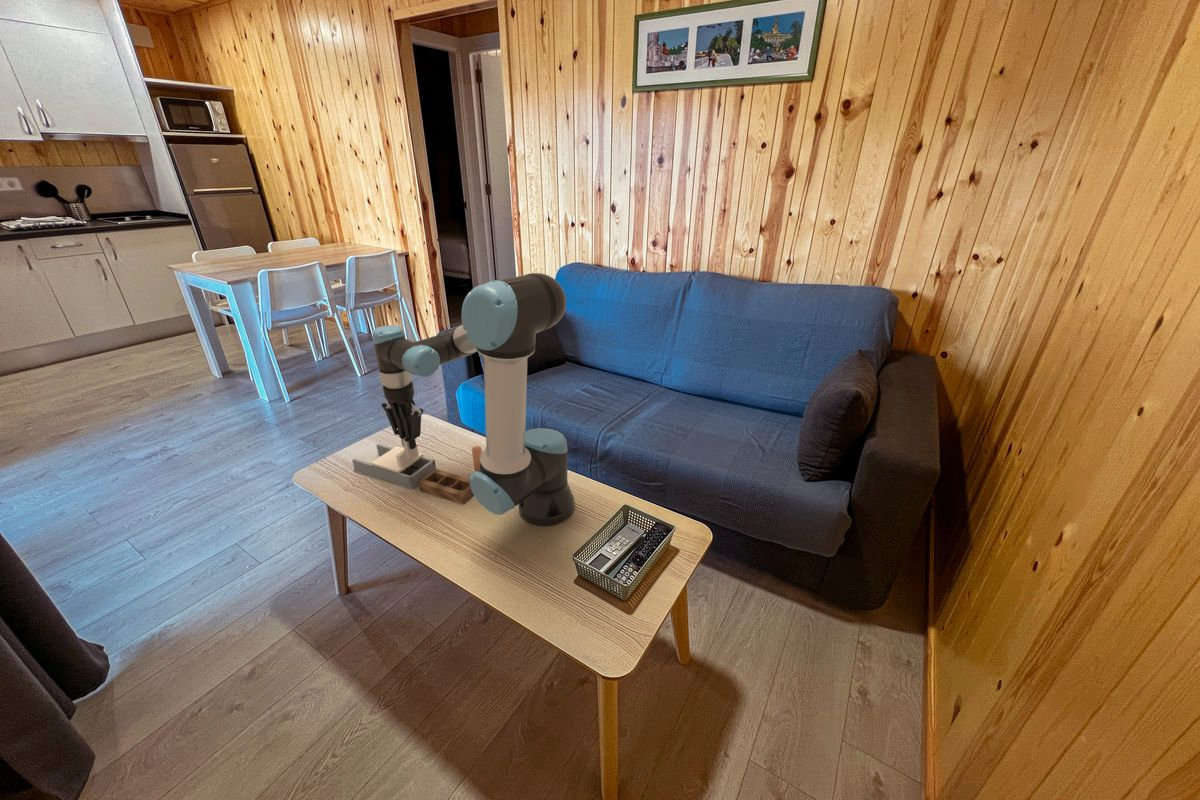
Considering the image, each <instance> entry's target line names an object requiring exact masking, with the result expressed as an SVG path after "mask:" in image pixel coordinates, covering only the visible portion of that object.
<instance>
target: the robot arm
mask: <svg viewBox="0 0 1200 800" xmlns="http://www.w3.org/2000/svg"><path fill="white" fill-rule="evenodd" d="M461 306H462V308H461V325H460V326H459V325H458V326H457V327H456V328H454V329H452V330H450V331H448V332H447V331H446V332H443V333H441V334H438V335H433V336H430V337H427V338H424V339H420V340H416V341H412V340H411V339H407V338H406V335H405V334H406V333H405V332H404V328H403V327H402V326H400V325H393V324H391V325H390V324H389V325H382V326H379V327H376V328H375V329H374V330H372V340H373V348H374V352H375V357H376V361H377V365H378V370H379V375H380V383H381V385H382V390H383V395H384V398H385V400H386V401H384V402H383V403H381V407H382V409H383V410H384V411H385V414H386V417H387V419H388V421H389V424H390V426H391V429H392V432H393V433H394V435H395V436H398V437H399V438H400V440H401V445H402V448H404V450H405V455H406V459H412V458H413V457H415V456H416V455H417V453H416V448H415V447H416V445H417V442H416V439H418V438H419V437H420V436H421V431H422V415H423V413H424V408H418V407H417V406H416V402H415V401H414V395H415V389H414V382H413V381H412V379H413V378H412V377H413V376H412V375H414V376H417V377H422V378H426V377H430V376H432V375H434V374H435V372H436V371H438V369H439V368H440V366H443V365H446V364H447V363H450V362H453V361H456V360H459V359H462V358H466V357H469V356H471V355H473V354H475V353H476V352H477V353H478V354H479V355H481V356H482V357H483V360H484V361H483V362H484V363H483V364H484V367H483V368H484V398H485V399H484V403H485V404H484V405H485V407H484V409H485V445H486V448H484V449H483V450H481V451H482V453H481V455H480V469H479V471H475V470H474V472H473V473H472V474H471V475H470V477H469V478H468V479H469V483H470V487H471V490H472V492H473V494H474V495H473V496H474V498H475V499H476V500H477V502H478V503H479V504H480V505H481V506H482V507H483V509H485V510H487V511H488V512H489V513H492V514H494V515H497V516H498V515H499V516H500V515H504V514H506V513H507V512H509V511H510V510H513V509H515V507H517V506H518V512H519V515H520V517H521V519H523V520H524V521H526V522H528V523H529V524H531V525H534V526H541V527H542V526H544V527H545V526H547V527H548V526H549V527H550V526H554V525H557V524H560V523H562V522H565V521H566V520H568V519H569V518H570V517H571V516H572V514H573V513H574V510H575V497H574V495H573V493H572V490H571V487H570V486H569V483H568V451H569V449H568V443H567V439H566V436H565V435H564V434H563V433H562V432H560V431H557V430H555V429H551V428H543V427H542V428H541V427H539V428H532V429H528V430H526V419H527V418H526V417H527V416H526V415H527V414H526V413H527V389H528V388H527V387H528V386H527V385H528V384H527V382H528V378H527V377H528V358H529V357H531V356H532V355H533V354H534V353H535V351H536V342H537V341H536V338H537V337H536V335H537V334H539V333H541V332H543V331H546V330H548V329H550V328H552V327H553V326H555V325H556V324H558V323H559V322H560V321H561V320H562V318H563V317H564V315H565V312H566V307H567V299H566V293H565V290H564V289H563V287H562V285H561V284H560V283H559V282H558V281H557V280H556V279H555V278H554V277H552V276H550V275H548V274H545V273H539V272H531V273H527V274H524V275H523V274H522V275H518V276H513V277H508V278H504V279H500V280H496V279H495V280H490V281H487V282H485V283H483V284H480V285H477V286H475V287H474V288H472V289H471V290H470V291H469V292H468V293H467V295H466V296H465V298H464V300H463V303H462V305H461Z"/></svg>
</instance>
